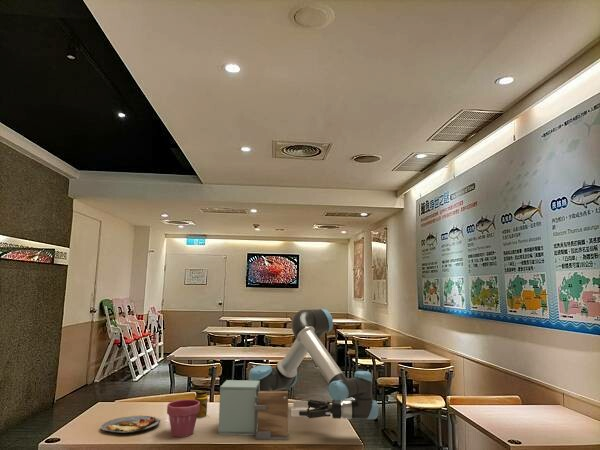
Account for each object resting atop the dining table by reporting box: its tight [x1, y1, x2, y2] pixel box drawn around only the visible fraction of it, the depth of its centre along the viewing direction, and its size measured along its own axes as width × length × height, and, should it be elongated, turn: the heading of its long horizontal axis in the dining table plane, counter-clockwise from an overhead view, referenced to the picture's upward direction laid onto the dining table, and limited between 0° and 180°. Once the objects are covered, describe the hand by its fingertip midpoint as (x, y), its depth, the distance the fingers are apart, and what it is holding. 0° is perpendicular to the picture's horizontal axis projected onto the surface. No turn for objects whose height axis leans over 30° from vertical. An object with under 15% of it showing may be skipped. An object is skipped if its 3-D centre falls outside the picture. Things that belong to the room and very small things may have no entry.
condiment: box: [194, 389, 210, 420], centre depth 210 cm, size 7×8×12 cm
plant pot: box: [166, 399, 200, 438], centre depth 185 cm, size 14×14×13 cm
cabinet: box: [218, 379, 290, 441], centre depth 188 cm, size 20×31×20 cm, turn 88°
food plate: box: [100, 414, 161, 434], centre depth 192 cm, size 25×23×4 cm
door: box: [257, 390, 289, 437], centre depth 181 cm, size 4×13×18 cm, turn 88°
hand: (292, 408), depth 181 cm, fingers open, 13 cm apart
